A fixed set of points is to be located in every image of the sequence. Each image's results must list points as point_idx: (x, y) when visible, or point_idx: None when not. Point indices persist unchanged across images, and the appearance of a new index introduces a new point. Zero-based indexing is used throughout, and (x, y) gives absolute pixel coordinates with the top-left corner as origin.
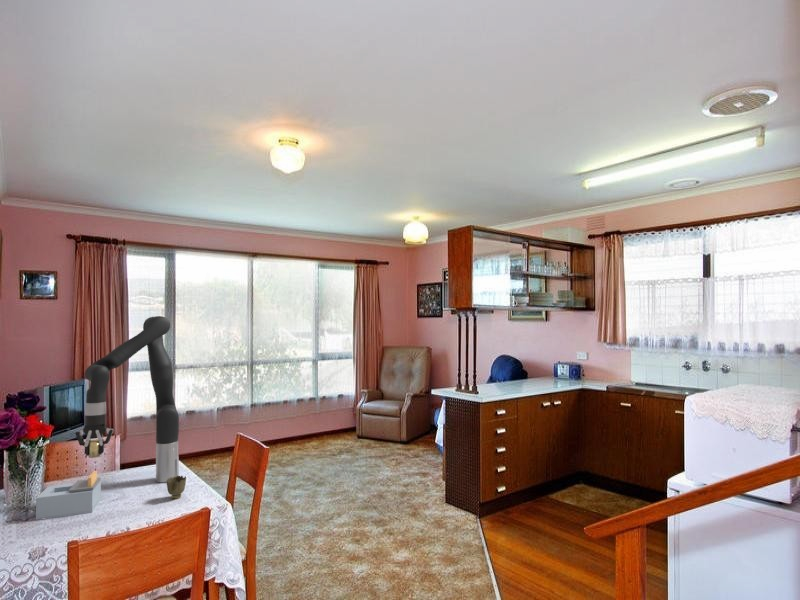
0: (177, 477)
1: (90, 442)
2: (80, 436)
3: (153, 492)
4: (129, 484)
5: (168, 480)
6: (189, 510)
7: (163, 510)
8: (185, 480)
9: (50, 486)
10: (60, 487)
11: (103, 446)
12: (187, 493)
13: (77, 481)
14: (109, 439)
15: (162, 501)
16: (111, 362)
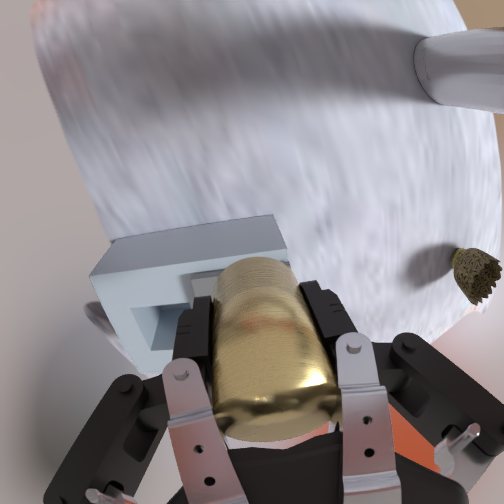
0: (491, 259)
1: (245, 434)
2: (130, 490)
3: (421, 193)
4: (331, 60)
5: (473, 275)
6: (453, 324)
7: (424, 321)
8: (493, 279)
9: (100, 285)
10: (147, 305)
11: (350, 332)
12: (476, 232)
13: (197, 292)
14: (431, 360)
15: (432, 273)
16: None
